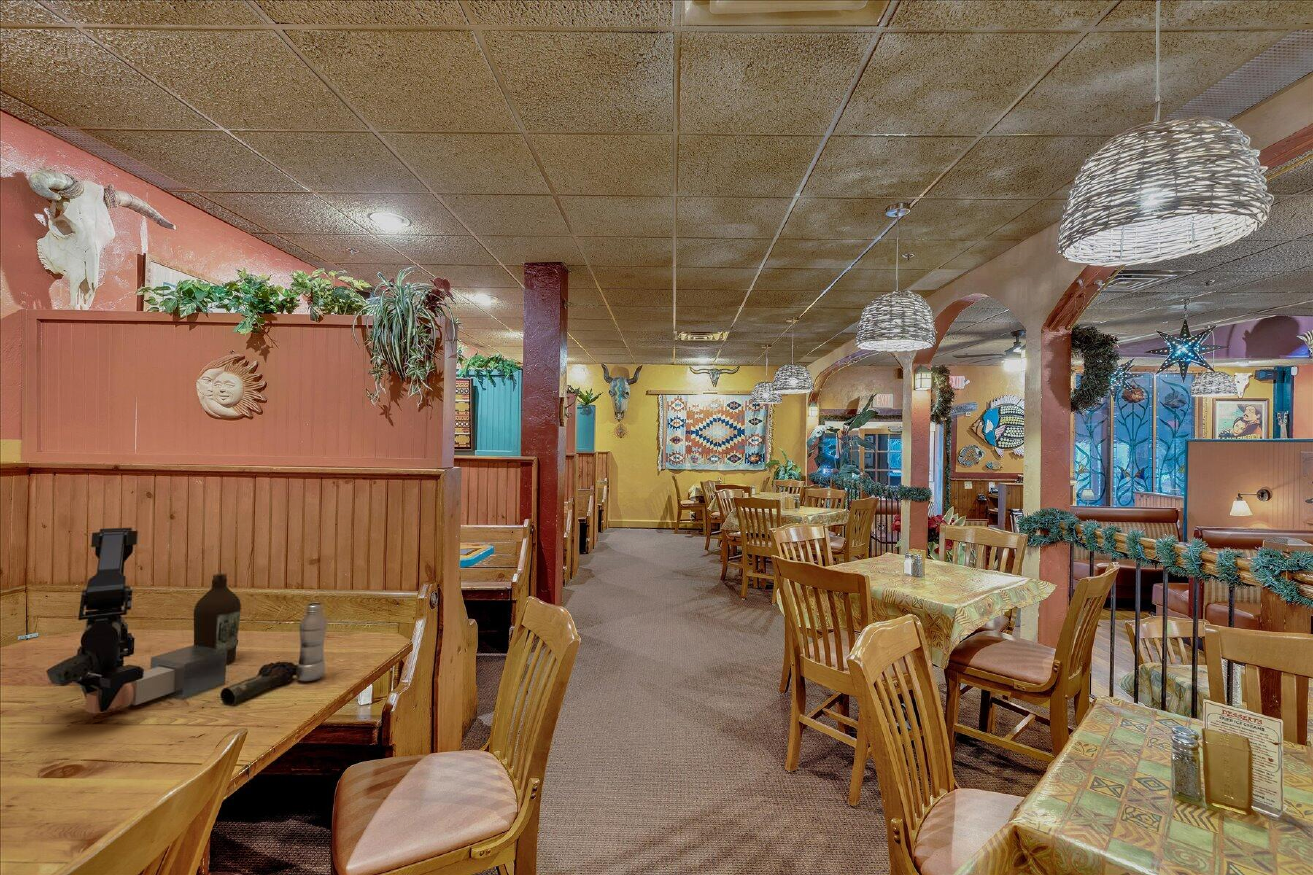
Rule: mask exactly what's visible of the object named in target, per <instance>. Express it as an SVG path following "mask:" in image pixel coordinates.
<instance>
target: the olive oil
mask: <svg viewBox="0 0 1313 875" xmlns="http://www.w3.org/2000/svg"><path fill="white" fill-rule="evenodd" d="M227 577H228V575H227V573H225V572H224V573H215V574H213V575H212V579H211V588H210V589H209V590H208V591H207V592H206V593H205V594H204V595H203V596H202V597H201V598H200V599H199V600H197V602H196V604H195V606H194V609H193V645H198V646H203V647H209V648H214V649H220V650H225V651H227V661H226V666H227V665H230V664H232V663H234V662H235V661H236V654H237V647H238V644H239V639H238V635H239V626H240V620H241V619H240V617H241V610H242V604H241V600H240V597H238V595H237V594H235V593H234V592H233V591H232V590H230V589H229V587H228V586H227V584H228V583H227V582H228V578H227Z"/></svg>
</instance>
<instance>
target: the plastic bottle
mask: <svg viewBox="0 0 1313 875" xmlns="http://www.w3.org/2000/svg"><path fill="white" fill-rule="evenodd" d="M305 607H306V608H305V613H306V614H305V615H304V616H303V618H302V619H301V620H300V622H299V627H298V628H299V639H300V641H299V642H300V643H299V645H300V649H299V657H298V662H297V664H296V665H297V669H296V675H295V676H296V679H297V680H298V681H300V682H311V681H317V680H319V679H321V678H322V677H323V676H324V675H325V674H324V673H325V672H326V663H325V656H324V652H325V651H324V647H325V638H326V632H327V630H328V625H329V624H328V620H327V617H326V616H325V615H324V614H323V613H322V612H323V603H322V602H310V603H307V604H306V606H305Z"/></svg>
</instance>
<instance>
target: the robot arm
mask: <svg viewBox="0 0 1313 875" xmlns="http://www.w3.org/2000/svg"><path fill="white" fill-rule="evenodd" d="M138 537H139V531H138V530H133V527H115V528H114V527H110V528H109V527H108V528H107V527H106V528H99V531H97V532H92V533H91V543H90V544H91V545H90V548H95V551H94V555H95V556H96V557H97V559H98V563H97V569H96V573H95V574H94V575H92V576H91V577H90V578H89V579H88V581H87V584H86V589H83V590H81V597H80V603H79V612H78V618H77V620H78V621H84V620H86V621H85V629H84V631H83V633H82V635H81V638H80V646H79V648H77V650H76V651H77V652H76V654H75V655H73V656H72V657H68V658H67V659H65V660H62V661H61V662H59V663H57V664H55V665H53V666H52V667H49V668H48V669H47V670H46V671H45V672H46V674H47V676H48V679H49V681H50V682H51V684H52V685H59V686H60V687H65V686H68V685H70V684H72V683H73V684H76V685H78V686H79V687H80V688H81V690H82V693H83V695H84V698H85V699H86V694H87V693H91V692H94V691H97V690H98V698H99V708H100V712H99V713H103V712H106V711H108V710H109V709H108V708H109V706H110V705H111V703H112V702H113V700H114V698H115V697H116V695H117V694H118V692H119V691H120V689H121V688H122V687H123V685H124V684H127V683H130V682H133V681H137V680H140V679H142V678H143V676H144V671H145V669H144V668H143V667H141V666H139V665H134V664H126V665H124V664H125V658H128V657H129V658H130V657H131V656H132V655H134V654H135V637H134V636H133V635H132V632H129V624H128V622H126V621H125V619H124V618H123V617H122V616H126V615H128V610H132V602H133V601H132V600H133V592H134V591H133V589H131V586H129V585H126V583H127V577H126V575H125V562H126V561H127V560H128V558H130V556H131V555H132V554H133V551H134V548H135V547H134V546H138ZM84 612H85V614H84Z"/></svg>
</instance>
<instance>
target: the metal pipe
mask: <svg viewBox="0 0 1313 875" xmlns="http://www.w3.org/2000/svg"><path fill="white" fill-rule="evenodd" d="M297 665H298V664H295V663H293V662H291V661H290V662H289V661H280V660H279V661H276V662H270V663H268V664H263V665H262V667H260V668H259V670H258V673H257V674H256V676H253V677H251V678H250V677H249V678H247V679H245V680H242V681H240V682H236V683H235V684H231V685H229V686H226V687H223V688H222V689H221V690H220V694H219V696H220V697H219V698H220V701H222V703H223V704H224V705H225V706H229V707H233V706H234V705H236V704H238V703H241V702H242V701H244V700H246V699H248V698H251V697H253V696H254V695H257V694H259V693H261V692H264V691H265V690H268V689H270V688H273V687H278V686H281V685H287V684H291V683H290V682H291V680H292V679H294V676H296V669H297Z"/></svg>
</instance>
